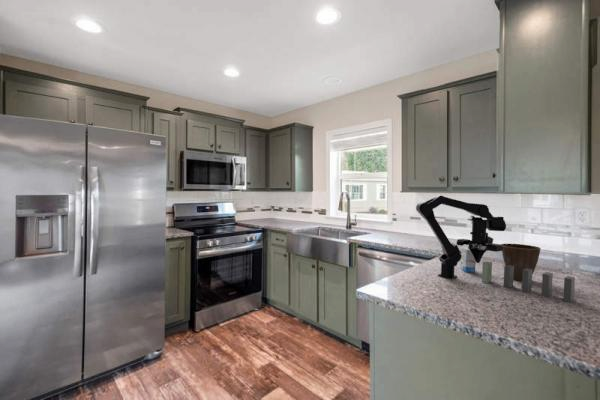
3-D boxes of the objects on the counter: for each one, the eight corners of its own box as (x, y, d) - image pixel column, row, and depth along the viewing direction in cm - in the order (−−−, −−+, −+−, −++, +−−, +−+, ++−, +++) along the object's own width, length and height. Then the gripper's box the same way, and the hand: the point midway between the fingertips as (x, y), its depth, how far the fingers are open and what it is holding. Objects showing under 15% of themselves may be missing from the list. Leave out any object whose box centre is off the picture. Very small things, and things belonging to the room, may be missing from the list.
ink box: (476, 273, 145) (476, 250, 145) (465, 272, 146) (466, 249, 146) (469, 268, 153) (470, 247, 153) (459, 268, 154) (460, 246, 154)
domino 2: (527, 292, 116) (528, 271, 116) (521, 291, 118) (522, 269, 118) (531, 290, 119) (532, 269, 119) (525, 289, 121) (526, 268, 121)
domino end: (570, 303, 106) (571, 279, 105) (563, 301, 107) (564, 277, 107) (573, 300, 109) (574, 277, 108) (566, 298, 110) (567, 275, 110)
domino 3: (548, 297, 111) (549, 274, 111) (541, 296, 113) (542, 273, 112) (551, 295, 114) (552, 273, 114) (545, 293, 115) (546, 271, 115)
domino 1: (508, 288, 121) (509, 267, 121) (503, 286, 123) (504, 266, 123) (513, 286, 124) (514, 265, 124) (507, 285, 126) (508, 265, 126)
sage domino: (481, 281, 130) (482, 262, 130) (486, 280, 133) (487, 261, 133) (486, 282, 128) (487, 263, 128) (491, 281, 131) (492, 261, 131)
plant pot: (505, 281, 131) (506, 247, 131) (495, 273, 145) (496, 242, 145) (545, 285, 126) (546, 250, 126) (531, 276, 140) (532, 244, 140)
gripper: (510, 232, 130) (508, 265, 130) (470, 227, 147) (469, 257, 147) (496, 233, 125) (495, 268, 125) (456, 228, 142) (455, 259, 142)
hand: (477, 262), depth 135 cm, fingers closed
